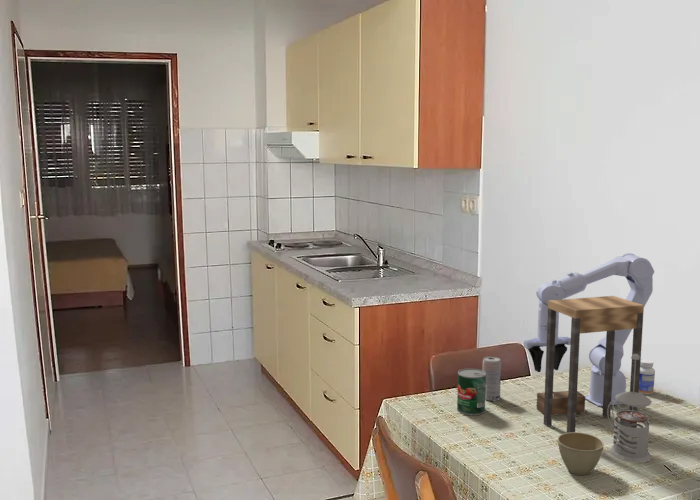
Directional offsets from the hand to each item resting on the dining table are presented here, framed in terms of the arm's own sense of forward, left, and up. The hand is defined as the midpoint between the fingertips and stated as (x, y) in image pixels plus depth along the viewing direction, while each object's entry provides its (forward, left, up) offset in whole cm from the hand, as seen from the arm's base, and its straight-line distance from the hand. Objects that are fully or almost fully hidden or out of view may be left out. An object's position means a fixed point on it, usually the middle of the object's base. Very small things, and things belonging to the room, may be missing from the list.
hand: (546, 370), depth 200 cm
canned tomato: (+24, 0, -10) cm, 26 cm away
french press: (0, +36, -10) cm, 37 cm away
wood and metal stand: (0, +21, -9) cm, 23 cm away
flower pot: (+17, +41, -10) cm, 45 cm away
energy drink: (+14, -7, -10) cm, 18 cm away
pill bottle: (-33, +2, -10) cm, 34 cm away
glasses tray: (0, +8, -10) cm, 13 cm away
